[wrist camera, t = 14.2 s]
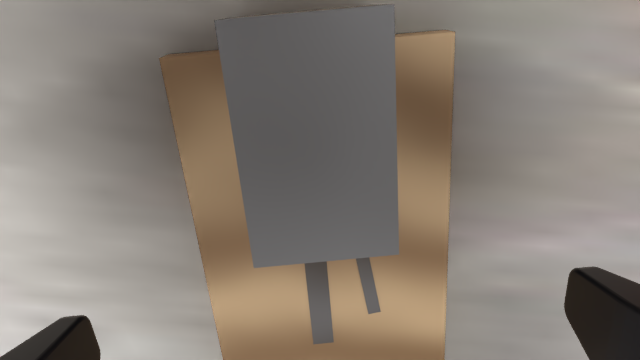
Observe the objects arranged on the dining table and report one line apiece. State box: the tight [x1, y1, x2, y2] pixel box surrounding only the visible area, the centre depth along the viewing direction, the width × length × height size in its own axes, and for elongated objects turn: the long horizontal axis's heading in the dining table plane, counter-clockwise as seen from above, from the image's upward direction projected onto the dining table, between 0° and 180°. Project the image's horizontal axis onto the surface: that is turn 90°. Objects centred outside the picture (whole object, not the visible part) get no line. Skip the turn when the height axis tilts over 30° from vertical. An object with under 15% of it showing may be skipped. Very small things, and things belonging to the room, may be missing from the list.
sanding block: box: [214, 4, 399, 268], centre depth 16 cm, size 8×5×4 cm, turn 5°
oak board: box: [159, 30, 455, 360], centre depth 20 cm, size 18×11×1 cm, turn 5°
